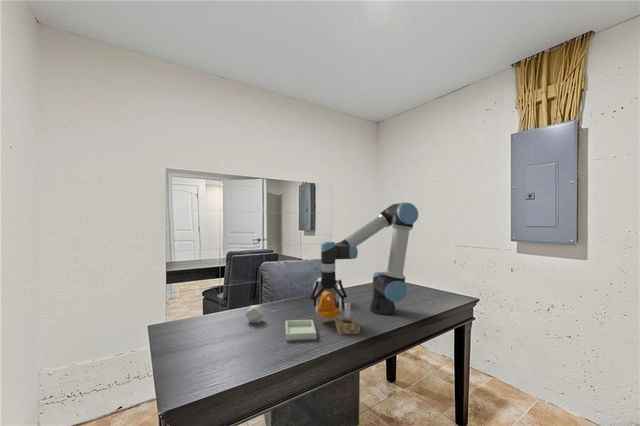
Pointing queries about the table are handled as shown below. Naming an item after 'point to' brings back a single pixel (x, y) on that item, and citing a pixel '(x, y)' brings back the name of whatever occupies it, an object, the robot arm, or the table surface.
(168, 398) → the table surface
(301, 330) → the tray
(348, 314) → the cylinder
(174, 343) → the table surface
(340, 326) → the bore block
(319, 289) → the alarm clock
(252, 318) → the die
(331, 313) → the bracket
